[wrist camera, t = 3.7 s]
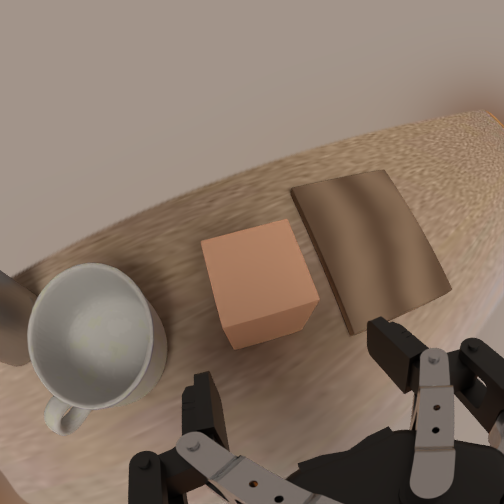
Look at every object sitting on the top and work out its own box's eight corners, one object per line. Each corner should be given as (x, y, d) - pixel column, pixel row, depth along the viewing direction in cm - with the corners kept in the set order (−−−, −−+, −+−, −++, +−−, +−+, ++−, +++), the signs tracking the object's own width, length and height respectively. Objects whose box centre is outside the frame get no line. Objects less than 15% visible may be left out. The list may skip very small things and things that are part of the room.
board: (350, 336, 24) (354, 333, 23) (290, 194, 32) (291, 187, 31) (446, 293, 26) (452, 289, 25) (381, 175, 33) (384, 169, 32)
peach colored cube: (234, 350, 24) (222, 328, 17) (217, 287, 27) (200, 241, 19) (301, 330, 25) (319, 299, 17) (280, 270, 28) (287, 218, 20)
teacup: (118, 277, 28) (79, 237, 21) (204, 337, 25) (182, 312, 18) (48, 383, 22) (-6, 370, 15) (124, 457, 20) (76, 472, 12)
